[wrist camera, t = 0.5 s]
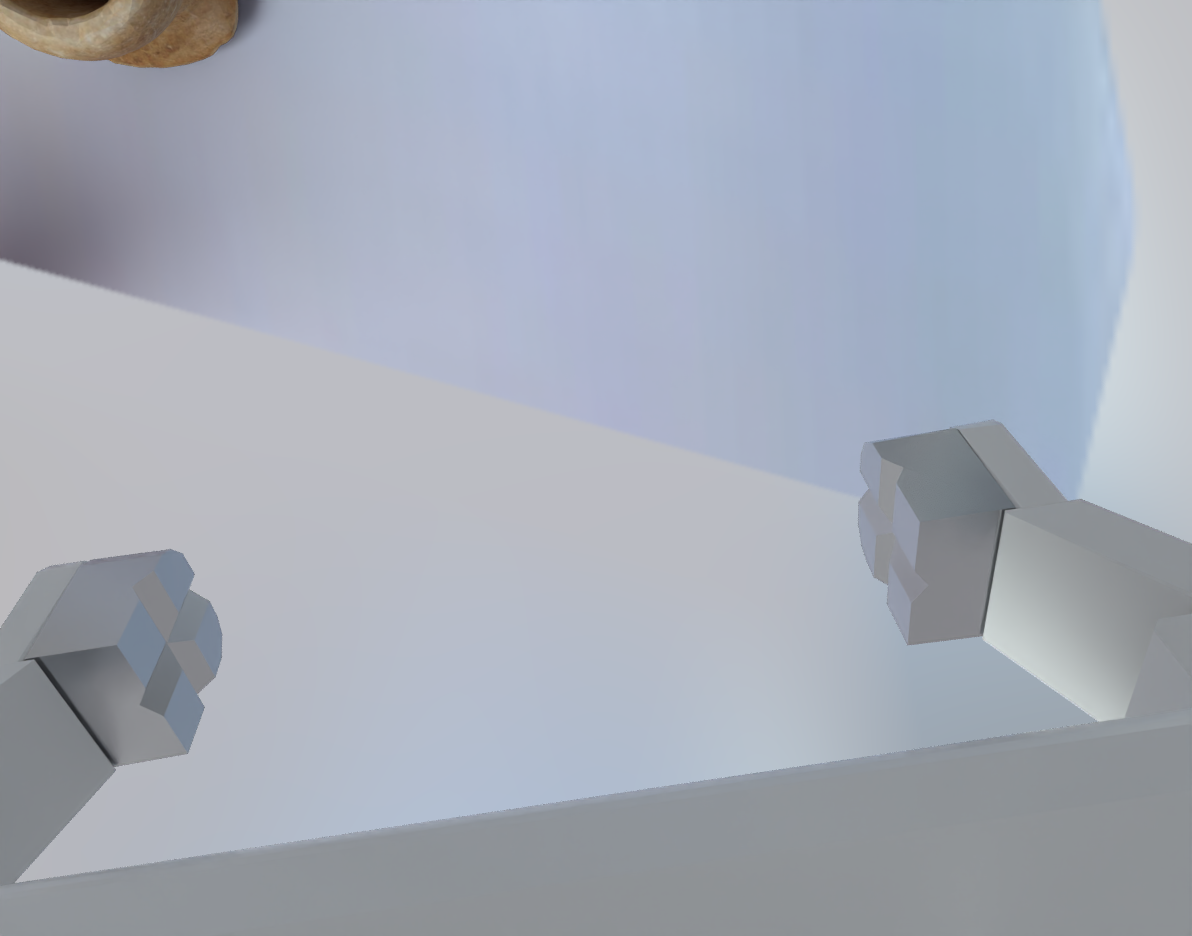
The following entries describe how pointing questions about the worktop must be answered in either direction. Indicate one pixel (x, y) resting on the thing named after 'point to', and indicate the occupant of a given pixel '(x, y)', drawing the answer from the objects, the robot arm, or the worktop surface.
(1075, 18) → the worktop surface
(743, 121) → the worktop surface
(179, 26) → the brown boot
